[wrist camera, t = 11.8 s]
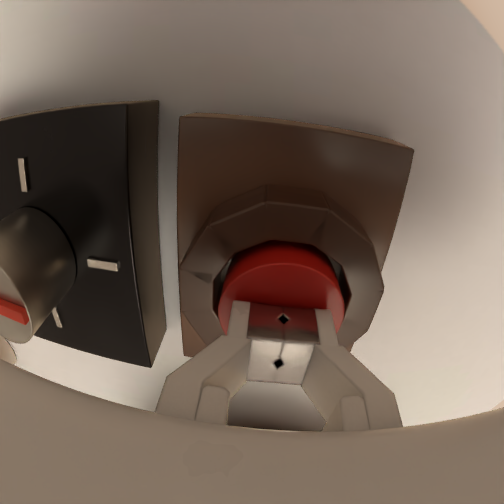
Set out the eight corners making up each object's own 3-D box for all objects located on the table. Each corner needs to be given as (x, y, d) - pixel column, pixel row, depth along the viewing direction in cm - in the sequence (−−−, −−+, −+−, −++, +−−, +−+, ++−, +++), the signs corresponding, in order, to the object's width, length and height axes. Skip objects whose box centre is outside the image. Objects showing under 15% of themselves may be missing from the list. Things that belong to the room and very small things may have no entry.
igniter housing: (194, 112, 11) (159, 120, 8) (393, 139, 11) (439, 161, 7) (192, 327, 16) (174, 384, 13) (336, 342, 16) (346, 399, 13)
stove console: (0, 118, 11) (-41, 131, 8) (159, 100, 11) (125, 103, 8) (34, 299, 17) (10, 329, 14) (167, 329, 17) (150, 371, 14)
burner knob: (17, 283, 12) (-25, 329, 9) (-1, 202, 10) (-58, 241, 7) (83, 303, 12) (42, 362, 9) (69, 212, 10) (6, 263, 7)
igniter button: (228, 229, 10) (220, 255, 8) (348, 243, 10) (360, 271, 8) (223, 321, 12) (216, 353, 10) (322, 331, 12) (327, 363, 10)
